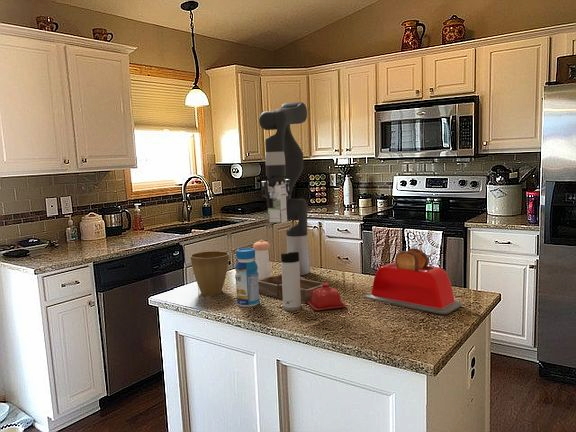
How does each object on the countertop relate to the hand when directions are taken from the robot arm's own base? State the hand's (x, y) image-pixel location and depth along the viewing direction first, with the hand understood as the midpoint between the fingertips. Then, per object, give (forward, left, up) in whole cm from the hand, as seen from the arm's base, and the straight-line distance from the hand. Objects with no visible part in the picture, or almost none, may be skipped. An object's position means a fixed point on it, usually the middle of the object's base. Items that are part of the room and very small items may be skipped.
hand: (277, 207), depth 186 cm
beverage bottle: (+19, +3, -34) cm, 39 cm away
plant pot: (+19, -19, -34) cm, 43 cm away
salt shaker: (-2, -12, -34) cm, 36 cm away
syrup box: (0, 0, -6) cm, 6 cm away
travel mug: (+13, +19, -34) cm, 41 cm away
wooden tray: (0, +7, -33) cm, 34 cm away
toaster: (-18, +47, -34) cm, 61 cm away
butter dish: (+4, +27, -34) cm, 43 cm away
